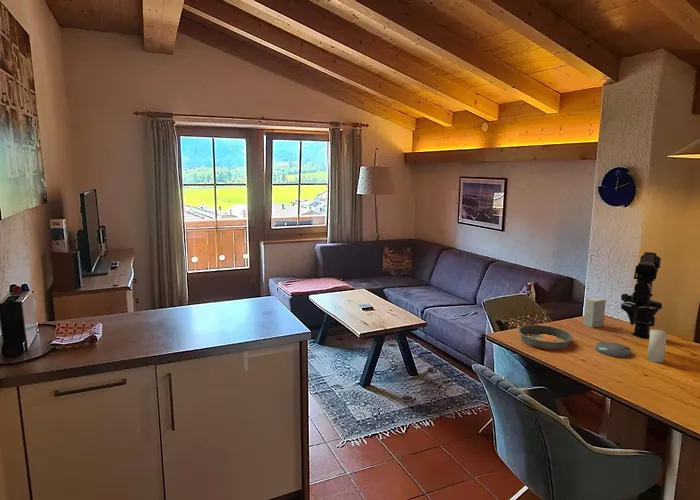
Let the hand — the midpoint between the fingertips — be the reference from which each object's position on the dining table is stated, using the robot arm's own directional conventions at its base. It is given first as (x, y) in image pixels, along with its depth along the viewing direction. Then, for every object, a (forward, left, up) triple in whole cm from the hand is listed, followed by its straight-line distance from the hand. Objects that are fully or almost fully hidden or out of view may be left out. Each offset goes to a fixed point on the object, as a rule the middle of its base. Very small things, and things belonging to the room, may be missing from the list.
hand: (639, 323), depth 212 cm
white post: (+5, +13, -12) cm, 18 cm away
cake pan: (+34, -22, -12) cm, 42 cm away
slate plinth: (+14, -1, -12) cm, 18 cm away
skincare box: (-8, -32, -12) cm, 35 cm away
